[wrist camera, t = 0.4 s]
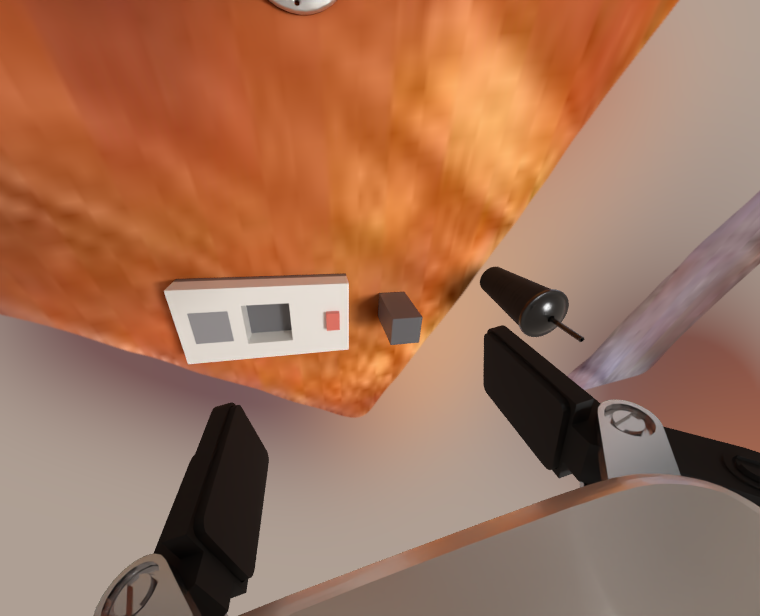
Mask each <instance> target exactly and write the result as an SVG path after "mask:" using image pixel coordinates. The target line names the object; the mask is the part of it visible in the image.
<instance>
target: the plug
mask: <svg viewBox="0 0 760 616" xmlns="http://www.w3.org/2000/svg"><path fill="white" fill-rule="evenodd" d="M378 317H379V320H380V322H381V324H382V326H383V329H384V331H385V333H386V335H387V337H388V340H389V342H390V344H391V345H396V344H407V343H418V342H419V338H420V331H421V324H422V316H421V314H420V313H419V312H418V310H417V309H416V308H415V306H414V305H413V303H412V302H411V301H410V299H409V298H408V296H407V295H406V294H405V292H391V293H379V305H378Z"/></svg>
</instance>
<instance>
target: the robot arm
mask: <svg viewBox="0 0 760 616" xmlns="http://www.w3.org/2000/svg"><path fill="white" fill-rule="evenodd" d="M269 1H270V2H271V3H273V4H274V5H276V6H277V7H279V8H281V9H283V10H285V11H288V12H291V13H295V14H299V15H309V14H315V13H318V12H322V11H324V10H325V9H327V8H328V7H330V6H332V5H333V4H334V3H335V2H336V1H337V0H269ZM295 1H298V2H299V6H296V5H295V4H294V2H295ZM484 388H485V391H486V393H487V394H488V395H489V396H490V398H491V399H492V400H493V401H494V403H495V404H496V405H497V407H498V408H499V409H500V411H501V412H502V413H503V414H504V416H505V417H506V418H507V419H508V421H509V422H510V423H511V424H512V426H513V427H514V428H515V430H516V431H517V432H518V433H519V435H520V436H521V437H522V439H523V440H524V441H525V442H526V444H527V445H528V446H529V447H530V449H531V450H532V451H533V453H534V454H535V455H536V456H537V458H538V459H539V460H540V461H541V463H542V464H543V465H544V466H545V467H546V468H547V469H548V470H553V472H554V473H555V474H556V475H557V477H558V478H561V477H564V476H567V475H569V474H573V475H574V476H575V477H576V478H577V480H578V481H580V488H578V489H575V490H573V491H569V492H566V493H564V494H561V495H558V496H555V497H552V498H549V499H546V500H543V501H540V502H538V503H535V504H532V505H530V506H527V507H524V508H521V509H519V510H516V511H513V512H511V513H508V514H505V515H503V516H500V517H497V518H494V519H491V520H489V521H486V522H483V523H480V524H478V525H475V526H472V527H470V528H467V529H464V530H462V531H459V532H456V533H453V534H451V535H448V536H445V537H443V538H440V539H438V540H435V541H432V542H429V543H427V544H424V545H421V546H419V547H416V548H413V549H410V550H408V551H405V552H402V553H400V554H397V555H395V556H392V557H389V558H386V559H384V560H381V561H379V562H376V563H373V564H371V565H368V566H365V567H362V568H360V569H357V570H355V571H352V572H350V573H347V574H344V575H341V576H339V577H336V578H333V579H331V580H328V581H326V582H323V583H320V584H318V585H315V586H312V587H310V588H307V589H305V590H302V591H300V592H297V593H294V594H291V595H289V596H286V597H284V598H281V599H279V600H276V601H274V602H271V603H269V604H266V605H264V606H261V607H259V608H256V609H254V610H252V611H249V612H246V613H244V614H241V615H239V616H760V453H759V452H756V451H752V450H750V449H746V448H743V447H739V446H736V445H731V444H728V443H724V442H720V441H716V440H713V439H709V438H704V437H701V436H697V435H693V434H689V433H686V432H682V431H678V430H674V429H670V428H666V427H663V426H662V424H661V422H660V420H659V419H658V418H657V417H656V416H655V415H654V414H653V413H651V412H649V411H648V410H647V409H645V408H643V407H641V406H639V405H637V404H635V403H631V402H628V401H624V400H607V401H605V402H603V403H601V404H600V403H599V402H598V401H597V400H595V399H594V398H593V397H592V396H591V395H589V394H588V393H587V392H586V391H584V390H583V389H582V388H581V387H580V386H578V385H577V384H576V383H575V382H573V381H572V380H571V379H570V378H569V377H567V376H566V375H565V374H564V373H562V372H561V371H560V370H559V369H557V368H556V367H555V366H554V365H553V364H551V363H550V362H549V361H548V360H546V359H545V358H544V357H543V356H541V355H540V354H539V353H538V352H536V351H535V350H534V349H533V348H531V347H530V346H529V345H528V344H527V343H525V342H524V341H523V340H522V339H520V338H519V337H518V336H517V335H515V334H514V333H513V332H512V331H510V330H509V329H508V328H507V327H505V326H498V327H495V328H491V329H489V330H488V332H487V334H485V336H484ZM268 463H269V457H268V453H267V451H266V449H265V447H264V445H263V444H262V442H261V440H260V438H259V437H258V435H257V433H256V431H255V430H254V428H253V426H252V425H251V423H250V421H249V419H248V418H247V416H246V415H245V412H244V411H243V409H242V407H241V406H240V405H235V404H234V403H228V404H224V405H221V406H217V407H215V408H214V409H213V411H212V412H211V415H210V418H209V420H208V423H207V425H206V428H205V430H204V433H203V435H202V438H201V441H200V443H199V446H198V448H197V451H196V454H195V455H194V456H193V457H192V459H191V461H190V463H189V466H188V468H187V471H186V473H185V476H184V478H183V481H182V483H181V486H180V488H179V491H178V493H177V496H176V498H175V501H174V503H173V506H172V508H171V511H170V514H169V516H168V519H167V521H166V524H165V526H164V529H163V531H162V534H161V536H160V539H159V541H158V544H157V546H156V549H155V551H154V554H150V555H146V556H143V557H142V558H140V559H138V560H136V561H134V562H133V563H132V564H131V565H129V566H128V567H127V568H125V569H124V570H123V571H122V572H121V573H120V574H119V575H118V576H117V577H116V578H115V580H113V582H112V583H111V584H110V586H109V587H108V588H107V590H106V591H105V593H104V594H103V596H102V597H101V599H100V601H99V603H98V605H97V607H96V610H95V613H94V616H228V615H227V612H228V609H229V603H230V598H233V597H236V596H238V595H241V594H244V593H246V590H247V583H248V579H249V578H251V577H252V576H253V573H254V569H255V562H256V554H257V546H258V538H259V531H260V524H261V515H262V509H263V501H264V493H265V485H266V478H267V471H268Z"/></svg>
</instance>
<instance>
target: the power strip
mask: <svg viewBox="0 0 760 616" xmlns="http://www.w3.org/2000/svg"><path fill="white" fill-rule="evenodd" d="M164 293H165V296H166V299H167V302H168V305H169V308H170V311H171V314H172V317H173V320H174V323H175V326H176V329H177V332H178V335H179V338H180V341H181V344H182V347H183V350H184V353H185V356H186V359H187V362H188V364H195V363H206V362H217V361H228V360H239V359H250V358H261V357H271V356H282V355H293V354H304V353H315V352H326V351H336V350H347V349H349V283H348V280H347V277H346V274H320V275H289V276H259V277H228V278H197V279H176V280H175V281H173V282H172V283H171V284H170V285H169V286H168V287H167V288H166V289H165V290H164Z"/></svg>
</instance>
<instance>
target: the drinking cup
mask: <svg viewBox="0 0 760 616" xmlns="http://www.w3.org/2000/svg"><path fill="white" fill-rule="evenodd" d="M480 285H481V288H482V289H483V290H484V291H485V292H486V293H487V294H488V295H489V296H490V297H491V298H492V299H493V300H494V301H495V302H496V303H497V304H498V305H499V306H500V307H501V308H502V309H503V310H504V311H505V312H506V313H507V314H508V315H509V316H510V317H511V318H512V319H513V320H514V321H515V322H516V323H517V324H518V325H519V327H520V329H521V331H522V332H523V333H524V334H526V335H528V336H531V337H539V336H543V335H545V334H548V333H549V332H551V331H552V330H554V329H555V328H556V327H557V326H558V327H559V328H560V329H562V330H563V331H565V332H566V333H568V334H569V335H571V336H572V337H574V338H575V339H577V340H578V341H579V342H582V341H583V340H584V337H582V336H580V335H579V334H578V333H576V332H575V331H573V330H572V329H570V328H569V327H567V326H565V325H564V324H562V323H561V322H562V320H563V319H564V318H565V316H566V314H567V310H568V306H569V303H568V298H567V296H566V295H565V294H564V293H563V292H561V291H559V290H553V289H549V288H547V287H545V286H542V285H539V284H537V283H535V282H532V281H530V280H528V279H525V278H523V277H520V276H518V275H516V274H514V273H511V272H509V271H506V270H504V269H502V268H499V267H491V268H489V269H487V270H486V271H485V272H484V273H483V275H482V276H481V279H480Z"/></svg>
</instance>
